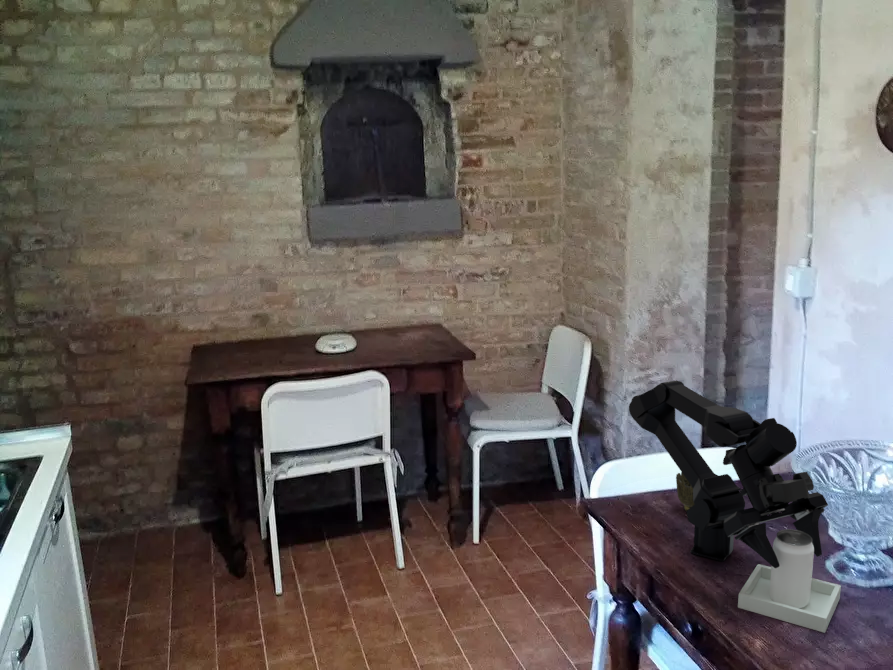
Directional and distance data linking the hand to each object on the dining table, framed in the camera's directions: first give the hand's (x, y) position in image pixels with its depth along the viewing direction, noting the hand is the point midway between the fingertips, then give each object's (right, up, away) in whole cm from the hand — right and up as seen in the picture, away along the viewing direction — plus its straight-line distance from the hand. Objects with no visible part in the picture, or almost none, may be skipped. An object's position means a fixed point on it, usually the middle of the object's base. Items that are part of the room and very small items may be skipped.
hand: (798, 561), depth 142 cm
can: (0, -8, +3) cm, 8 cm away
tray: (0, -8, +3) cm, 9 cm away
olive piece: (-7, 0, +39) cm, 39 cm away
